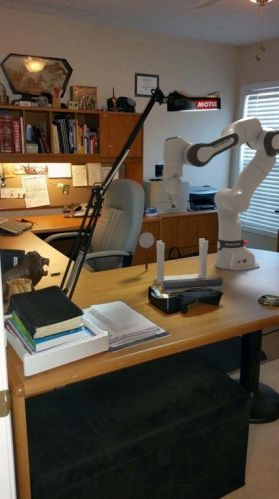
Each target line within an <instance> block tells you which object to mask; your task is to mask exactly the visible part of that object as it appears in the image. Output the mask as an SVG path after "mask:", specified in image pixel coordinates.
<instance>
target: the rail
mask: <svg viewBox="0 0 279 499" xmlns="http://www.w3.org/2000/svg"><path fill="white" fill-rule="evenodd" d="M208 277H209V278H194V279H179V280H165V281H163V284H162V285H163V288H164V289H178V288H193V287H207V286H221V285H223V286H224V284H223V280H224V279H223V278H222V277H221V276H211V277H210V276H208ZM163 288H162V289H163ZM164 289H163V290H164Z"/></svg>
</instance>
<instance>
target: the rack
mask: <svg viewBox="0 0 279 499" xmlns="http://www.w3.org/2000/svg"><path fill="white" fill-rule="evenodd" d="M165 244H166V243H165V242H163V240H156V276H154V281H155V282H156V283H157V285H160V284H161V285H163V281H165V280H179V279H194V278H209V277H210V276H208V274H207V272H208V249H209V240H206V239H205V238H199V239H198V247H199V248H198V250H199V254H198V273H192V274H180V275H179V274H178V275H175V274H174V275H165V248H166V246H165Z"/></svg>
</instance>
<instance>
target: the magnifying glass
mask: <svg viewBox="0 0 279 499" xmlns="http://www.w3.org/2000/svg"><path fill="white" fill-rule="evenodd" d="M155 242H156V237H155V235H154V234H153V232H151V231H146V230H145V231H143V232H141V233H140V234H139V235H138V236H137V244H138V245H139V247H140V248H142V249H144V254H145V255H144V256H145V257H144V258H145V260H144V261H145V262H144V264H145V271H146V272H147V271H148V269H149V266H148V265H149V263H148V262H149V260H148V259H149V256H148V254H149V252H148V251H149V250H148V249H150V248H152V247H153V246H154V245H155Z"/></svg>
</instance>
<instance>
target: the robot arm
mask: <svg viewBox="0 0 279 499" xmlns="http://www.w3.org/2000/svg"><path fill="white" fill-rule="evenodd" d="M220 134H221V135H220V137H218V138H216V139H214V140H212V141H210V142H207V143H204V142H200V143H192V142H189V141H187V140H185V139H184V138H183V137H182V136H180V135H176V136H170V137H167V138H166V139H165V141H164V144H163V152H162V157H163V165H162V168H163V169H162V172H161V176H162V177H163V178H162V180H163V190H164V191H163V192H165V193H166V195H167V202H168V203H170V204H171V203H172V205H174V206H178V205H179V204H178V200H179V199H180V198H179V197H180V196H183V181H182V178H184V177H183V176H184V175H183V170H184V167H183V166H184V165H185V166H191V167H197V168H203V167H205V166H207V165H208V164H209V163H210V162H211V161H212V160H213V159H214V158H215V157H217V156H218V155H220V154H222V153H224V152H226V151H228V150H231V149H235V148H238V147H241V146H243V145H245V144H246V146H247V147H249V148H250V149H251V150H255V151H256V152H255V154H254V156H253V158H252V159H251V160H249V162H248V163H247V164H246V166H245V167H244V168H243V169H242V170H241V171H240V172H239V173H238V175H237V179H236V182H235V184H234V186H233V187H232V188H228V187H227V188H221V189H219V190H218V191H217V192H216V193H214V194H215V195H214V198H213V199H214V203H215V206H216V212H217V219H218V238H217V242H216V243H217V247H216V248H217V254H216V259H215V263H214V265H213V266H214V267H216V268H218V269H223V270H224V269H225V270H230V271H234V272H235V271H245V270H251V269H257V268H260V263H259V262H258V261H256V256H255V254H254V253H253V252H252V251H251V250H250V249H249V248H247V247H246V246H247V245H248V244H249V241H248V240H246V239H242V221H241V220H240V215H239V214H243V213H245V212H247V211H248V210H249V208H250V205H251V199H252V198H253V195H254V194H255V191H257V189H258V188H259V186H260V185H261V184H262V183H263V181H264V180H265V179H267V177H268V176H269V174H270V173H271V172H272V170H273V169H274V167H275V165H276V163H277V156H278V155H279V129H276V128H274V129H273V128H270V127H262V123H261V120H259V119H258V117H256V116H249V117H244V118H241V119H239V120H236V121H234V122H231V123H230V124H227V126H225V127H224V128H223V129H222V131H221V133H220ZM245 245H246V246H245Z"/></svg>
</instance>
